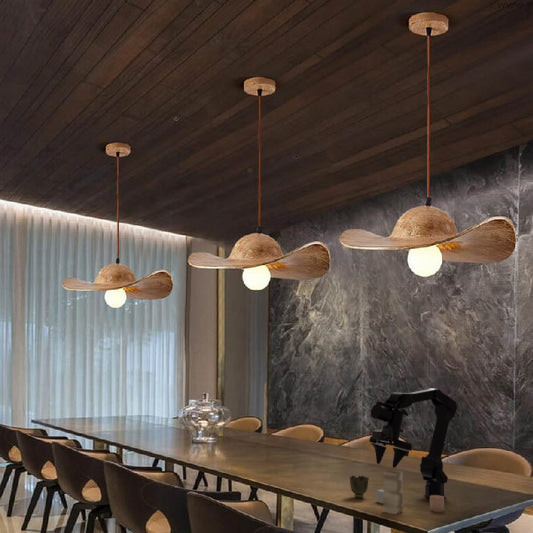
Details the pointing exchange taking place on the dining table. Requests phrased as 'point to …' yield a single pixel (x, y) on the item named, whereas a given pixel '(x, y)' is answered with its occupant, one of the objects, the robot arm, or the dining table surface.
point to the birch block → (392, 492)
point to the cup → (359, 485)
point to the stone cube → (380, 496)
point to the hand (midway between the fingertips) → (385, 465)
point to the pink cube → (436, 503)
